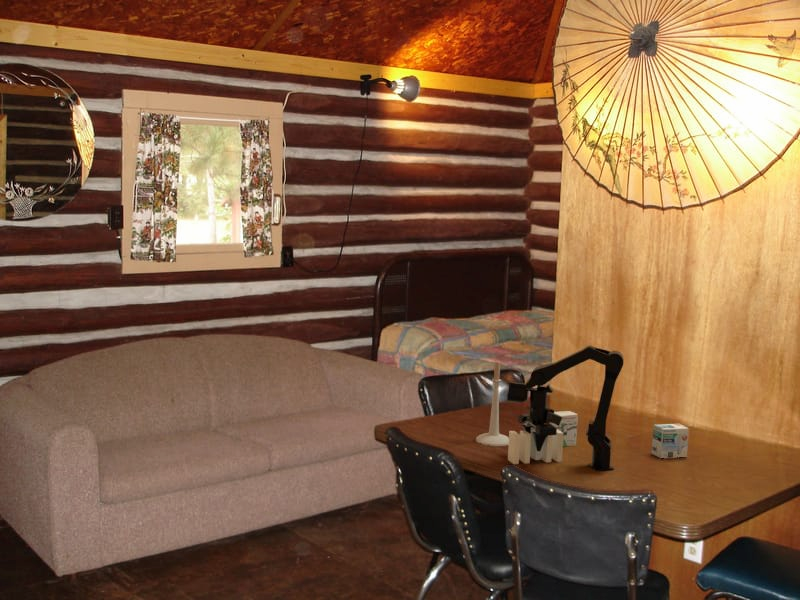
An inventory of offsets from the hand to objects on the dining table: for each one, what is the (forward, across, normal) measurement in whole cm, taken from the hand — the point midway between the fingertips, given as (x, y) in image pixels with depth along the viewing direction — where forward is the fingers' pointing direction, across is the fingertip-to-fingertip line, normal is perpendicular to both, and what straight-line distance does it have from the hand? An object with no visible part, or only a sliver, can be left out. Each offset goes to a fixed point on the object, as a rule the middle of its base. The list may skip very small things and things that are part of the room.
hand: (535, 449), depth 305 cm
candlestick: (+4, +25, +5) cm, 26 cm away
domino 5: (+4, 0, -8) cm, 9 cm away
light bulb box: (+4, -2, -51) cm, 51 cm away
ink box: (+4, +17, -19) cm, 26 cm away
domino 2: (+4, 0, +4) cm, 6 cm away
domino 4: (+4, 0, -4) cm, 6 cm away
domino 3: (+3, 0, 0) cm, 3 cm away
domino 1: (+4, 0, +8) cm, 9 cm away
